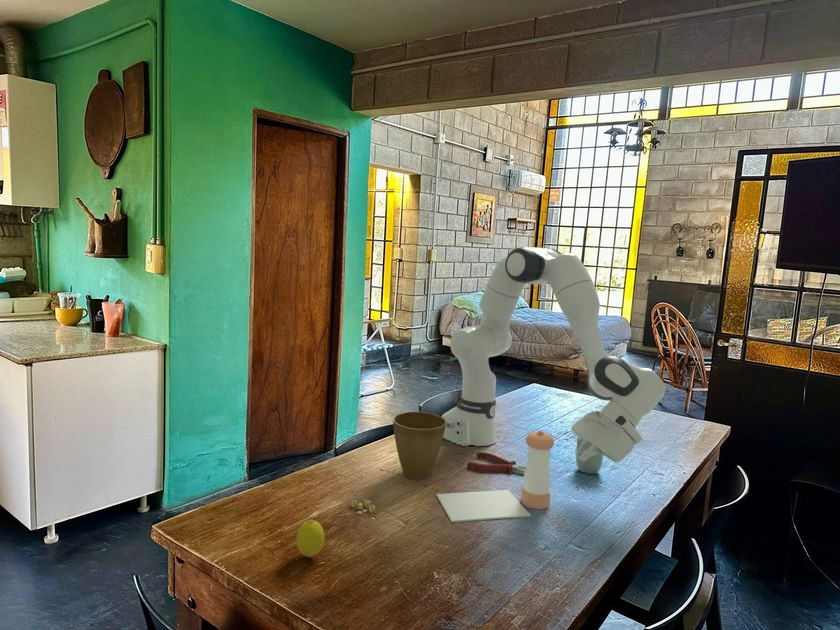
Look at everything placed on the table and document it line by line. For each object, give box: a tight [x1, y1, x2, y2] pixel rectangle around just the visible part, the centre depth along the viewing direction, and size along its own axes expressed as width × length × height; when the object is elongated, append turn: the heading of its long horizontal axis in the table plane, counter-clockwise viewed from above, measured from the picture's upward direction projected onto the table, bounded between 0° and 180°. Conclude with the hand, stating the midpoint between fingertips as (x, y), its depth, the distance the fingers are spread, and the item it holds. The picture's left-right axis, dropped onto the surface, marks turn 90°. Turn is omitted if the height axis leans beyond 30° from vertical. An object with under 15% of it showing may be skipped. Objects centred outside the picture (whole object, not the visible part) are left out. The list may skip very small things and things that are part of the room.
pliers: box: [466, 451, 526, 476], centre depth 163 cm, size 12×20×3 cm, turn 67°
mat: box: [435, 489, 531, 523], centre depth 139 cm, size 20×14×1 cm
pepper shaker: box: [520, 429, 555, 510], centre depth 141 cm, size 7×7×19 cm
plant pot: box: [392, 411, 446, 480], centre depth 156 cm, size 15×15×16 cm
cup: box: [575, 437, 604, 475], centre depth 164 cm, size 8×8×10 cm
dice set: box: [350, 499, 376, 515], centre depth 134 cm, size 5×5×2 cm
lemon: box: [296, 519, 325, 559], centre depth 112 cm, size 6×6×8 cm
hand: (579, 458), depth 144 cm, fingers closed
